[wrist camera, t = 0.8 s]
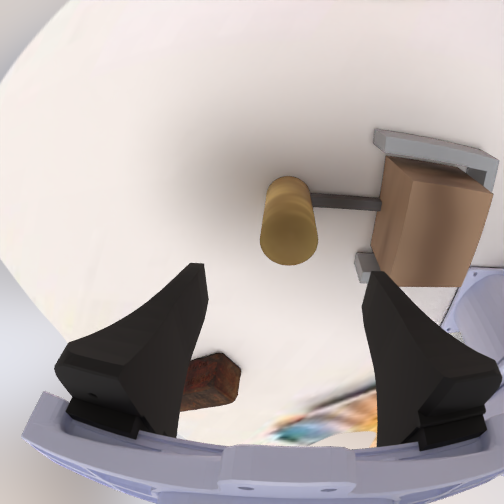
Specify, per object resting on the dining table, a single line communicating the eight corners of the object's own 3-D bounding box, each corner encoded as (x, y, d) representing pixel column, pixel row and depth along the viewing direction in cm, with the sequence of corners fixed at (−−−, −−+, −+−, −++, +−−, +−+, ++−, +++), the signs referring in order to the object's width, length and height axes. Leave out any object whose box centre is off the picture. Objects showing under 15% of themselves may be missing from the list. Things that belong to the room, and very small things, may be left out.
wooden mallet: (457, 167, 18) (501, 200, 13) (436, 248, 22) (466, 296, 16) (266, 146, 19) (259, 175, 14) (265, 239, 23) (259, 292, 18)
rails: (481, 149, 17) (499, 160, 14) (448, 267, 22) (459, 285, 20) (374, 128, 17) (386, 136, 15) (354, 263, 23) (360, 283, 21)
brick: (220, 348, 31) (211, 385, 27) (242, 368, 32) (236, 403, 28) (155, 369, 35) (144, 399, 31) (177, 385, 36) (168, 415, 32)
